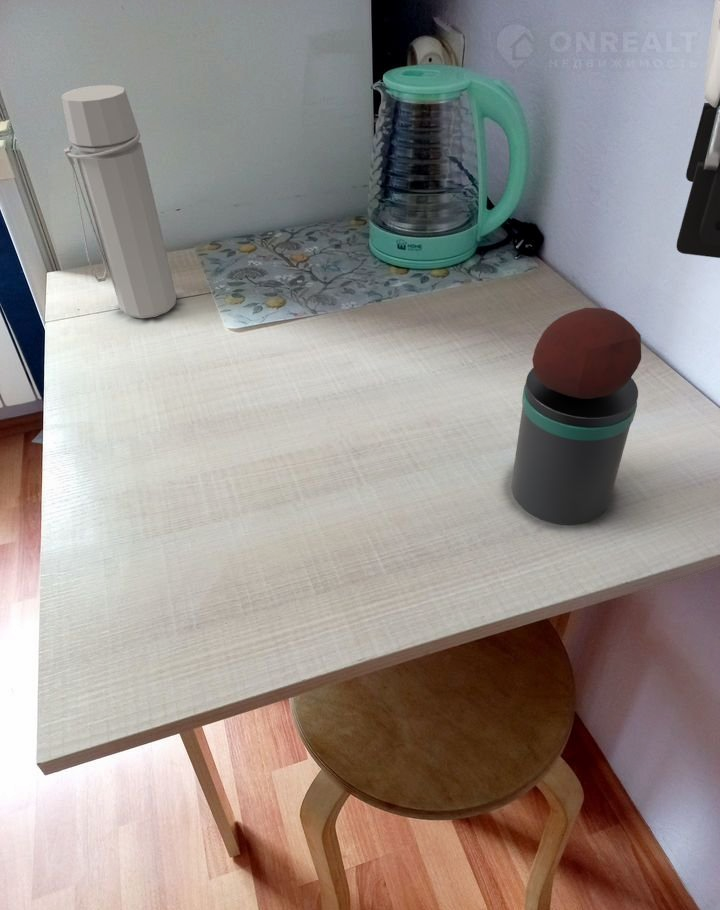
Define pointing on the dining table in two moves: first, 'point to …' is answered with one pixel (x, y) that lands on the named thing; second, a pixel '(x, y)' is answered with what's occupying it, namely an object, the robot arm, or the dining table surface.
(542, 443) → the canister
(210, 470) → the dining table surface
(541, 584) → the dining table surface
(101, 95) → the water bottle
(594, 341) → the potato
